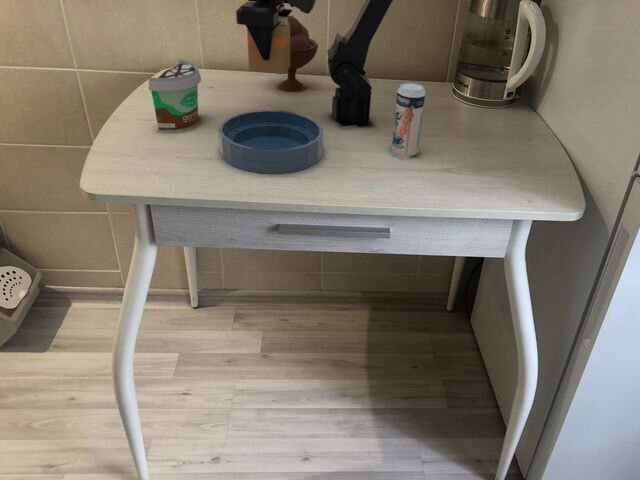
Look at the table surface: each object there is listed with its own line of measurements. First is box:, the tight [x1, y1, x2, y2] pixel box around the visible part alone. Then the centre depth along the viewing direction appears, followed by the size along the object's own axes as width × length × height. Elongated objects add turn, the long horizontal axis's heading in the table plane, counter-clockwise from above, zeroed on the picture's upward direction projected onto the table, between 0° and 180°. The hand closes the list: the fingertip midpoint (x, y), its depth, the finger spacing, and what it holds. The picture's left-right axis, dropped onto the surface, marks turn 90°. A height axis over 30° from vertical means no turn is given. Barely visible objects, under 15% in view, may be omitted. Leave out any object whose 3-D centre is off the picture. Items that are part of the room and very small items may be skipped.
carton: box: [246, 16, 290, 75], centre depth 107 cm, size 5×6×9 cm
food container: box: [148, 58, 202, 131], centre depth 108 cm, size 12×6×10 cm, turn 168°
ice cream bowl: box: [278, 15, 319, 92], centre depth 126 cm, size 11×11×15 cm
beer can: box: [391, 82, 427, 158], centre depth 103 cm, size 5×5×12 cm
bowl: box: [218, 109, 324, 175], centre depth 101 cm, size 17×17×4 cm
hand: (269, 55), depth 108 cm, fingers closed on carton, 5 cm apart
